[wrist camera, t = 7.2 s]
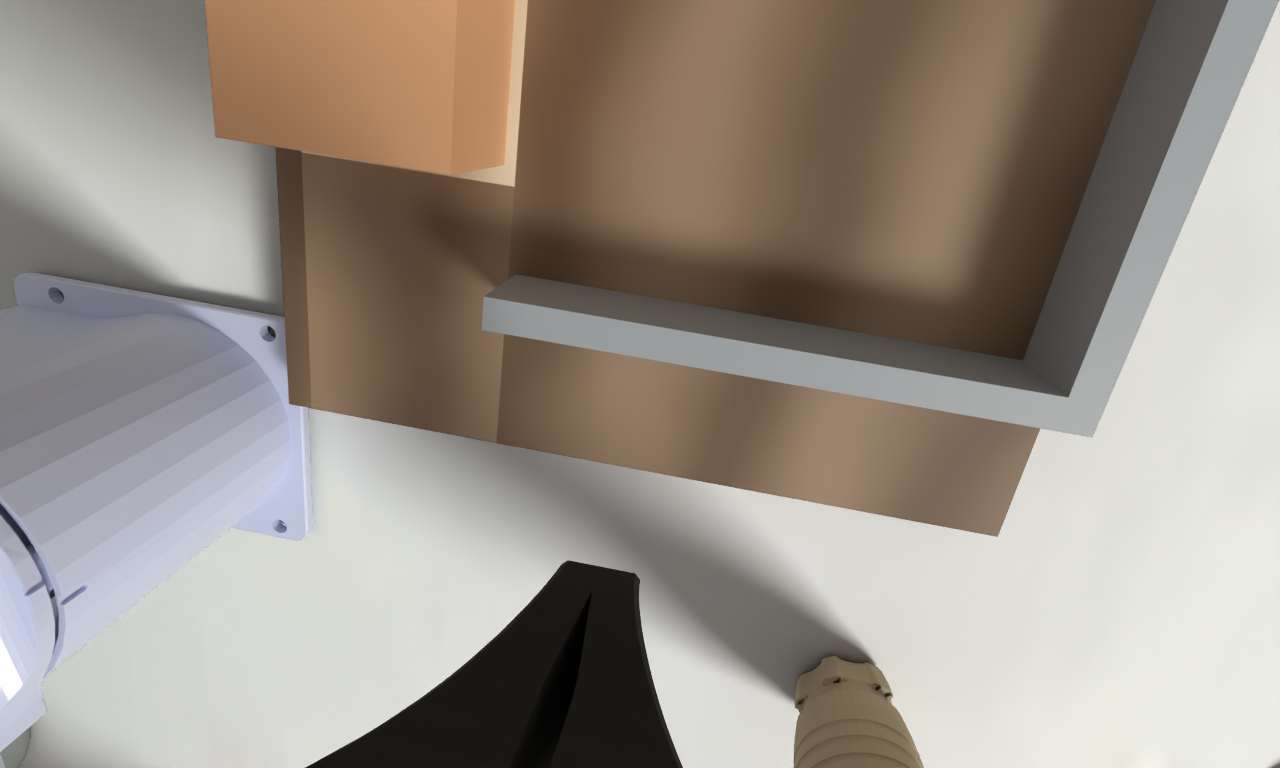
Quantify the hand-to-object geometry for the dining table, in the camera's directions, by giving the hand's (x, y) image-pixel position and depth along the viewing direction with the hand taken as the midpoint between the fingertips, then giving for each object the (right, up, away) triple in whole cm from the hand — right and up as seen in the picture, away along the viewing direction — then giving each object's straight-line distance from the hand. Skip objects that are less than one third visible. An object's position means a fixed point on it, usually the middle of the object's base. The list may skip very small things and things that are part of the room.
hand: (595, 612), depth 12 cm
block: (-5, +12, +4) cm, 14 cm away
